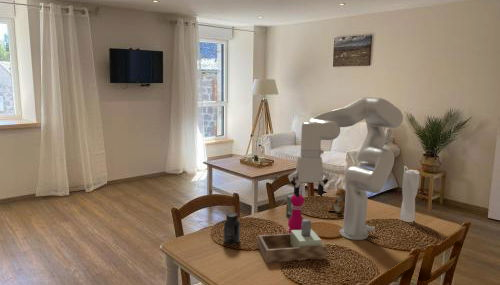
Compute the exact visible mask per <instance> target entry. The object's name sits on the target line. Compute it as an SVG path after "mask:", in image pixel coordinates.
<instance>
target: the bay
mask: <svg viewBox="0 0 500 285" xmlns="http://www.w3.org/2000/svg"><path fill="white" fill-rule="evenodd" d="M290 240H291V233H290V234H289V233H278V234H277V233H275V234H260V235H259V234H258V239H257V248H258V247H259V248H258V249H259V252H260V253H261V255H262V257H263V259H264V261H265V263H266V264H268V263H270V264H271V263H282V262H283V261H284V262H294V261H293V260H298V261H307V260H306V259H311V260H321V259H324V260H325V259H326V258H327V245H321V246H308V247H292V245H291V244H290Z"/></svg>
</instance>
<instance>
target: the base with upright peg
mask: <svg viewBox="0 0 500 285" xmlns="http://www.w3.org/2000/svg"><path fill="white" fill-rule="evenodd" d="M311 227H312V220H310V219H306V218H305V219H304V218H303V220H302V230H291V240H290V244H291V245H292V247H308V246H322V239H321V238H320V236H319V235H318V234H317V233H316V231H314V230H313V229H312V228H311Z"/></svg>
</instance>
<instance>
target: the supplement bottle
mask: <svg viewBox="0 0 500 285" xmlns="http://www.w3.org/2000/svg"><path fill="white" fill-rule="evenodd" d="M225 216H226V217H225V220H224V223H223V242H224V241H225V242H226V243H225V242H224V243H225V244H228V243H229V244H228V245H235V243H236V244H238V243H240V235H241V234H240V233H241V222H240V220H239V215H238V213H237V212H227V213H226V215H225Z"/></svg>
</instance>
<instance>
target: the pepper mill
mask: <svg viewBox="0 0 500 285" xmlns="http://www.w3.org/2000/svg"><path fill="white" fill-rule="evenodd" d="M291 203H292V205H291V208H292V215H291V217H290V218H288V222H287V226H288V228H289V229H288V234H290V233H291V230H302V220H303V219H304V218H303V216H302V215H301V209H302V210H303V204H304V203H305V199H304V195H302V194H300V191H299V197H296V196H295V195H292V197H291Z"/></svg>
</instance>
